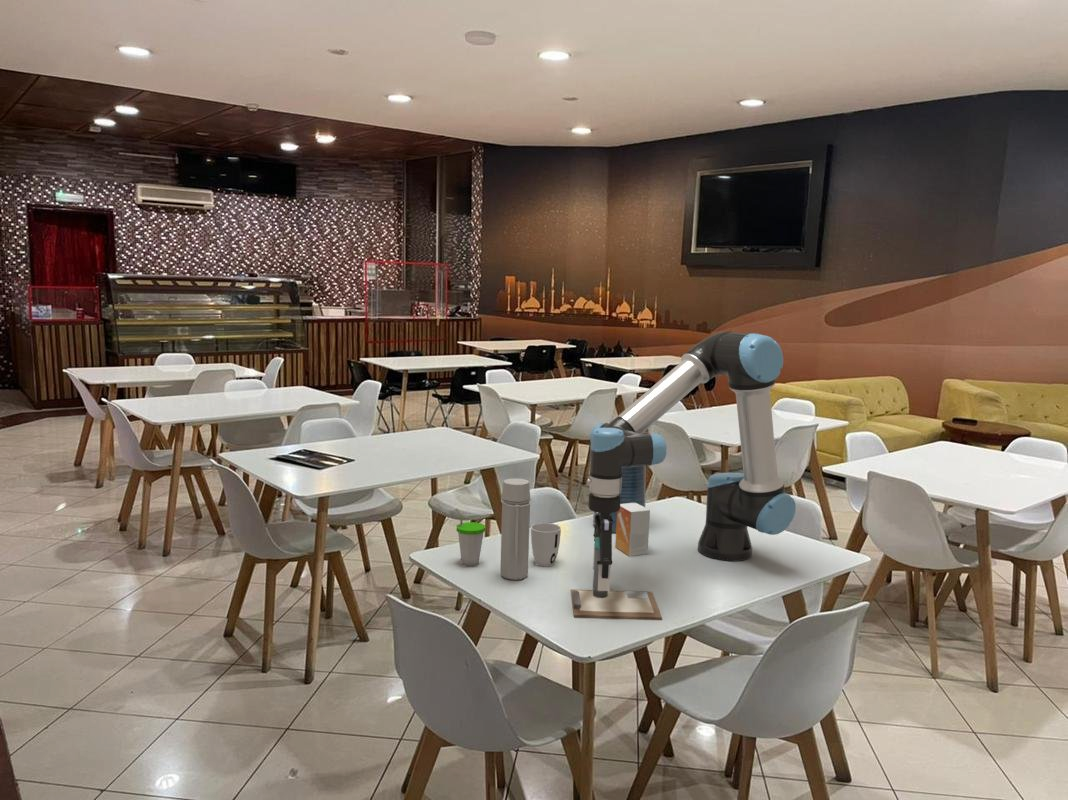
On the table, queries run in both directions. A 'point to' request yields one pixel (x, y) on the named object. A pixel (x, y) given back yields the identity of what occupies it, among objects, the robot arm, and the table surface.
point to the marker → (596, 569)
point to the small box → (632, 529)
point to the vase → (630, 489)
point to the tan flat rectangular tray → (615, 605)
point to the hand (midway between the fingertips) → (601, 579)
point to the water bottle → (515, 528)
